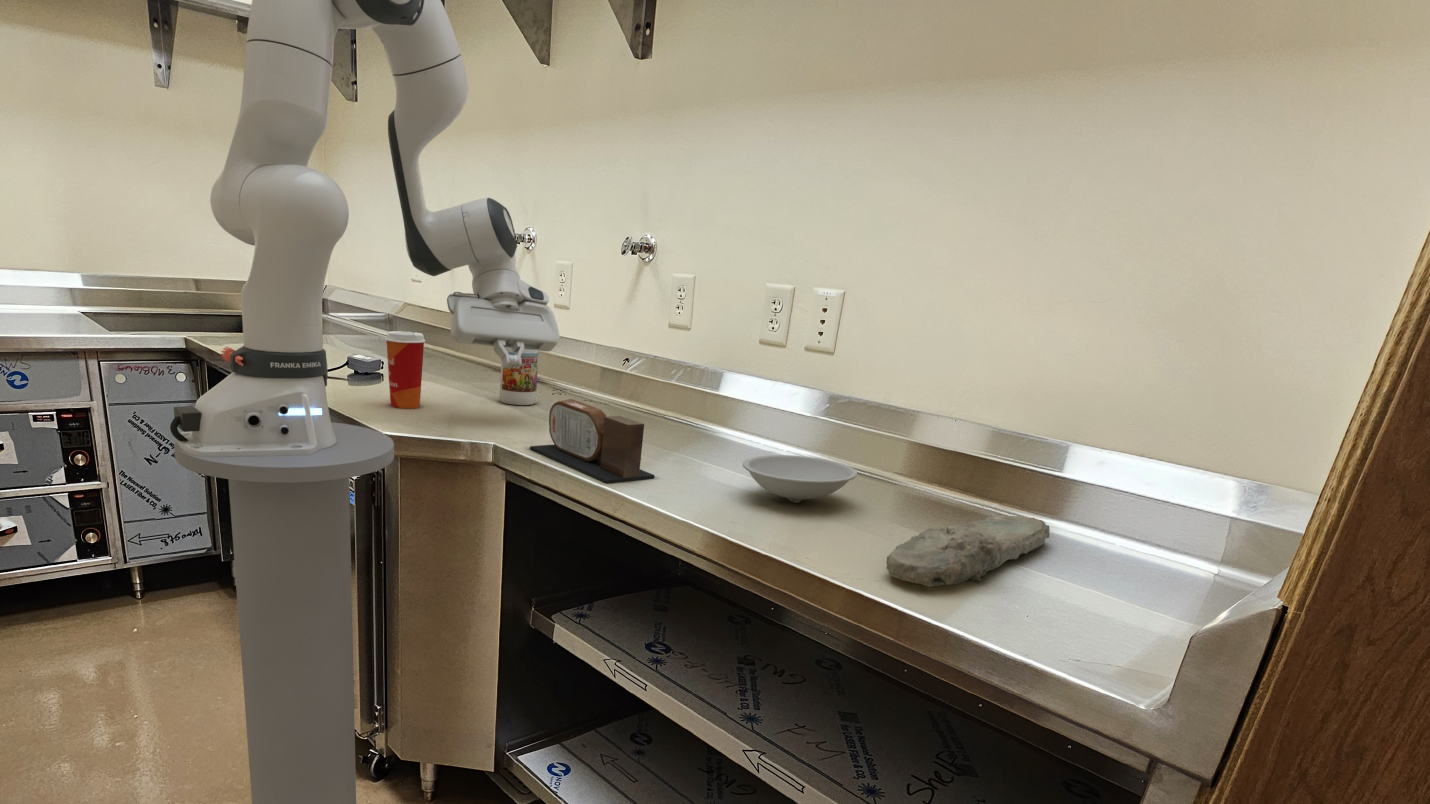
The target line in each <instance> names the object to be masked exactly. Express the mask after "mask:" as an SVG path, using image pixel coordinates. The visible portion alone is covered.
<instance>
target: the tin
mask: <svg viewBox="0 0 1430 804" xmlns="http://www.w3.org/2000/svg"><path fill="white" fill-rule="evenodd" d="M548 415H549V417H548V427H549V428H548V429H549V436H550V438H551V441H552V443H553V445H554V444H555V446H556V447H557V448H558V449H560V450H562V451H564V452H566V453H568V454H571V455H573V456H575V457H578V458H580V459H582V460H584V461H588V462H590V461H597V460H599V461H601V452H602V440H603V428H604V417H608V415H607V414H606V413H605V412H604V410H602V409H601V408H599V407H596V406H593V405H591V404H588V403H585V402H582V401H579V400H578V399H574V398H568V399H564V400H559V401H556V402H554V403H553V404H552V406H551V407H550V409H549V414H548Z"/></svg>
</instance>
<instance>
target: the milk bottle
mask: <svg viewBox="0 0 1430 804" xmlns="http://www.w3.org/2000/svg"><path fill="white" fill-rule="evenodd" d="M504 348H505V349H506V351H507V352H508V353H509V355H515V353H516V352H513V351H512V348H507V347H504ZM521 361H522V365H521V367H520V368H519V369H517V368H506V367H503V363H502V359H501V358H500V377H499V401H500V402H501V403H503V404H506V405H507V404H508V405H515V406H531V405H534V404H535V403H536V401H537V389H538V388H537V386H538V368H539V367H538V366H539V350H528V349H524V350H523V352H522V355H521Z"/></svg>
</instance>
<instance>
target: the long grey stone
mask: <svg viewBox="0 0 1430 804" xmlns="http://www.w3.org/2000/svg"><path fill="white" fill-rule="evenodd" d="M1050 530H1051V528H1050V525H1049V524H1046V522H1045V521H1044V520H1043V519H1038V518H1036V517H1027V516H1021V515H1002V514H1001V515H1000V514H999V515H998V514H996V515H993V516H989V517H987V518H984V519H979V520H975V521H970V522H967V523H963V524H962V525H950V526H949V525H947V526H946V528H941V527H939V528H927V529H925V530H923V531H922V532H920V533H919V534H917V535H914V536H911V537H910V539H908V540H907V541H904V542H903V543H900V544H898V545H896V547H895V548H894V549H893V550H892V552H891V553H889V555H888V556H886V562H885V563H886V570H887V571H888V574H889V576H891V577H893V578H896V579H899V580H901V581H904V582H909V583H913V584H920V585H923V586H925V587H927V588H932V587H936V586H945V585H946V586H947V585H949V586H950V585H954V584H955V585H959V584H961V583H964V582H967V581H971V582H972V581H973V582H975V581H976V582H980V581H982V578H981V577H983V576H986V575H987V572H989V571H993V570H994V569H996V568H999V567H1001V565H1004V563H1005V562H1006V561H1008V560H1009V561H1010V560H1017V559H1019V557H1020V555H1022V554H1028V553H1029V552H1032V551H1034V550H1037V548H1040V547H1041V546H1042V545H1044V544H1045V541H1046V539H1049V538H1050Z"/></svg>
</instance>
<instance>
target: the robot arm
mask: <svg viewBox="0 0 1430 804" xmlns="http://www.w3.org/2000/svg"><path fill="white" fill-rule="evenodd" d="M248 15H249V16H248V23H247V32H246V40H245V41H246V42H245V54H244V68H243V77H242V78H243V79H242V93H241V102H240V107H239V114H238V118H237V122H236V125H235V128H234V132H233V136H232V139H231V143H230V146H229V150H228V153H227V157H226V160H225V164H224V167H223V169H222V171H221V173H220V174H219V176H218V178H217V179H216V180H215V181H214V183H213V185H212V188H211V191H210V198H209V199H210V201H209V202H210V209H211V211H212V215H213V217H214V218H215V221H216V222H217V224H218V225H219V226H220V227H221V228H222V229H223V230H224V231H225V232H227V233H228V234H229V235H231V236H232V237H234V238H235V239H237V240H239V241H241V242H243V243H244V244H247V245H249V246H253V247H254V248H253V249H254V251H253V257H252V262H251V267H250V271H249V274H248V278H247V279H246V282H245V283H244V284H243V286H242V288H241V292H240V304H241V320H242V321H241V322H242V336H243V345H242V346H240V347H239V348H237V349H233V348H232V347H229V346H226V347H224V348H222V350H220V351H221V353H220V356H221V358H222V359H223V360H224V361H226V362H227V363H229V364H230V371H231V373H230V374H228V376H226V377H224V379H222V380H221V381H220V382H218V383H217V384H216V385H215V386H213V387H211V389H209V390H207V391H206V392H205V393H203V394H202V395H201V396H200V397H199V398H198V399H197V400H196V402H195V404H194V406H192V405H186V406H185V405H183V406H173V416H174V417H173V419H172V420H171V422H170V425H169V428H170V433H171V434H172V436H173V437H174V438H175V440H176V439H177V445H178V446H179V448H180V449H181V450H183V451H184V452H186V453H189V454H191V455H195V456H199V457H250V456H297V455H312V454H314V453H316V452H317V451H318V450H321V449H324V448H327V447H330V446H332V445H334V444H335V443H336V442H337V439H336V437H335V434H334V430H333V427H332V423H331V422H332V419H331V415H330V409H329V404H328V397H327V389H326V387H327V386H328V377H329V375H328V374H329V372H328V370H329V369H328V367H329V366H328V359H327V351H326V349H325V348H324V339H323V332H324V331H323V298H324V297H323V295H324V289H325V281H326V277H327V272H328V269H329V264H330V260H331V258H332V257H331V256H332V253H333V251H334V248H335V247H336V245H337V243H338V242H339V241H340V239H342V237H343V236H344V234H345V232H346V230H347V227H348V224H349V217H350V216H349V215H350V214H349V213H350V211H349V205H348V200H347V197H346V196H345V193H344V191H343V189H342V188H341V187H340V185H339V184H338V183H337V182H336V181H335V180H334V179H333V178H332V177H330V176H328V175H326V174H325V173H323V172H320V171H319V170H316V169H314V168H311V167H308V165H309V162H310V159H311V157H312V154H313V152H314V149H315V148H316V145H317V144H318V143H319V141H320V140H321V138H322V137H323V136H324V134H325V132H326V130H327V127H328V120H329V111H330V99H331V90H332V89H331V86H332V76H333V68H334V67H333V65H334V52H335V51H334V50H335V49H334V48H335V40H336V36H337V34H338V31H340V30H360V31H361V30H366V29H371V30H372V31H373V32H374V33H375V34H376V36H377V37H378V39H379V40H380V42H381V44H382V46H383V48H384V51H385V56H386V59H387V63H388V65H389V69H390V73H391V75H392V78H393V82H394V87H395V106H394V109H393V110H392V112H391V113H389V115H388V117H387V118H388V119H387V136H388V137H387V138H388V144H389V151H390V155H391V156H390V157H391V162H392V167H393V168H392V169H393V173H394V178H395V184H396V188H397V189H396V190H397V194H398V199H399V204H400V205H399V206H400V210H401V215H402V221H403V226H404V240H405V241H404V243H405V248H406V252H407V256H408V258H409V260H410V262H411V264H412V267H414V268H415V269H416V270H418V271H420V272H422V273H424V274H426V275H429V276H431V277H436V276H439V275H441V274H445V273H447V272H450V271H452V270H454V269H458V268H461V267H465V266H468V269H469V271H470V273H471V276H472V280H471V287H472V293H471V292H470V293H469V292H468V293H465V292H460V291H453V293H451V294H449V295H448V296H447V298H446V305H447V309H448V311H449V313H450V317H449V322H450V335H451V338H452V339H453V340H454V342H456V343H457V344H467V345H477V346H488V347H493V351H494V352H495V354H496V355H497V356H498V358H499V359H500V360H501V359H502V363H503V367H506V368H517V369H519V368H520V367H521V365H522V361H521V355H522V352H523V350H524V349H528V350H538V352H539V351H540V352H551V351H552V350H553V349H555V347H556V346H557V345H558V343H559V342H560V339H561V337H560V331H559V327H558V323H557V320H556V316H555V313H554V312H553V310H552V308H550V307H549V306H548V303H549V301H550V299H549V295H548V293H547V292H546V291H544V290H541V289H539V288H537V287H536V286H535V287H534V286H532V285H530V284H529V283H527V282H526V281H524V280H521V276H520V273H519V272H518V270H517V267H516V265H517V258H516V257H517V256H516V252H517V248H518V242H517V238H516V234H515V227H514V223H513V219H512V216H511V213H510V212H509V210H508V209H507V207H506V206H504V205H503V204H501V203H500V202H499V201H497V200H496V199H493V198H491V197H485V198H478V199H476V200H472V201H471V200H470V201H467V202H463V203H462V204H459V205H455V206H451V207H448V208H443V209H440V210H437V211H431V210H429V209H428V208H427V205H426V200H425V195H424V194H425V193H424V188H423V182H422V177H421V171H420V170H421V169H420V165H419V163H420V162H419V161H420V160H419V159H420V155H421V153H422V151H423V150H424V148H426V147H427V145H429V143H430V142H432V141H433V140H434V139H435V138H436V137H437V136H439V135H440V134H441V133H442V132H444V131H446V129H447V128H448V127H450V126H451V125H452V124H453V123H454V122H455V121H456V119H457V118H458V117H459V116H460V114H461V113H462V111H463V110H464V108H465V106H466V104H467V100H468V98H469V97H468V96H469V83H468V77H467V72H466V67H465V63H464V59H463V56H462V53H461V49H460V46H459V43H458V40H457V37H456V34H455V31H454V28H453V25H452V23H451V21H450V18H449V15H448V13H447V11H446V9H445V6H444V4H443V2H442V0H251V5H250V10H249V14H248ZM504 347H507V348H512V351H513V352H516V353H515V355H509V353H508V352H507V351H506V349H505V348H504ZM179 429H180V430H181V432H180V431H179Z"/></svg>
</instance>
